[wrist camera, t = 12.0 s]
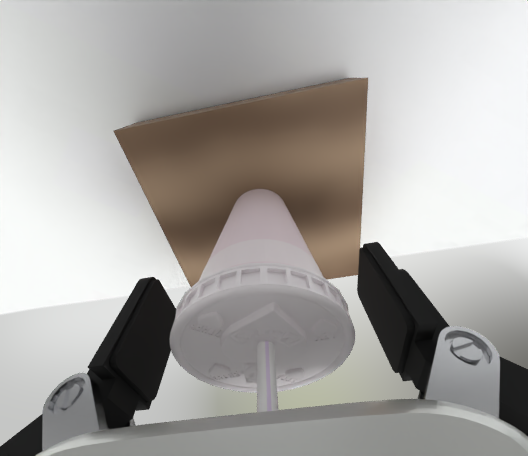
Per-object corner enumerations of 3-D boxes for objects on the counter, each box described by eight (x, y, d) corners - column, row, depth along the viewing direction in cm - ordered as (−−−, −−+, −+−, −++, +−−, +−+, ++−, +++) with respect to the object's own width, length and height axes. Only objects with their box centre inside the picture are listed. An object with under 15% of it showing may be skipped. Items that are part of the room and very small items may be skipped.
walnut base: (136, 122, 16) (113, 131, 13) (348, 77, 15) (368, 77, 12) (203, 274, 23) (196, 298, 21) (346, 252, 22) (358, 274, 19)
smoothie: (316, 175, 15) (555, 559, 3) (295, 254, 18) (368, 579, 6) (213, 162, 14) (-1, 581, 2) (212, 246, 18) (120, 591, 6)
